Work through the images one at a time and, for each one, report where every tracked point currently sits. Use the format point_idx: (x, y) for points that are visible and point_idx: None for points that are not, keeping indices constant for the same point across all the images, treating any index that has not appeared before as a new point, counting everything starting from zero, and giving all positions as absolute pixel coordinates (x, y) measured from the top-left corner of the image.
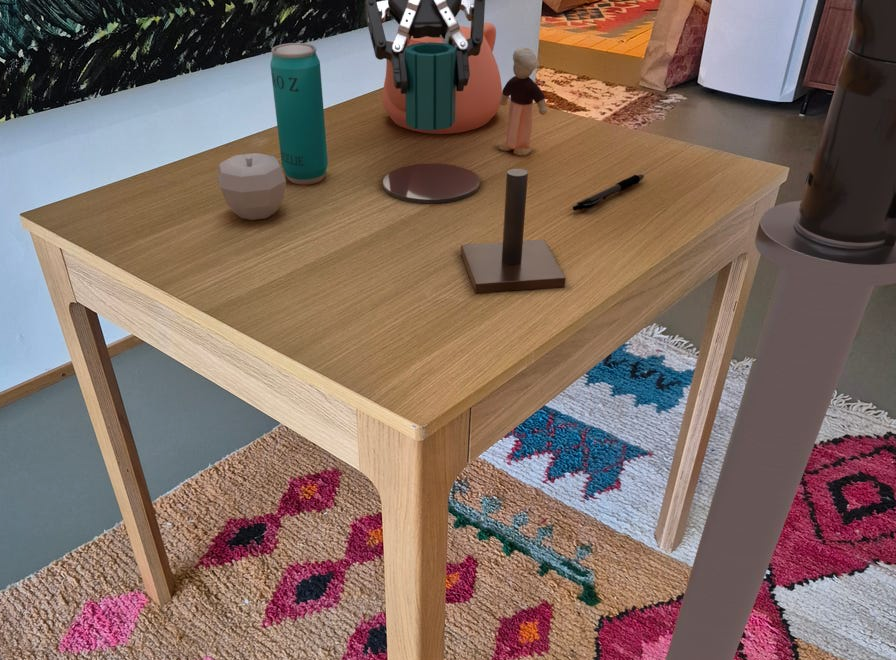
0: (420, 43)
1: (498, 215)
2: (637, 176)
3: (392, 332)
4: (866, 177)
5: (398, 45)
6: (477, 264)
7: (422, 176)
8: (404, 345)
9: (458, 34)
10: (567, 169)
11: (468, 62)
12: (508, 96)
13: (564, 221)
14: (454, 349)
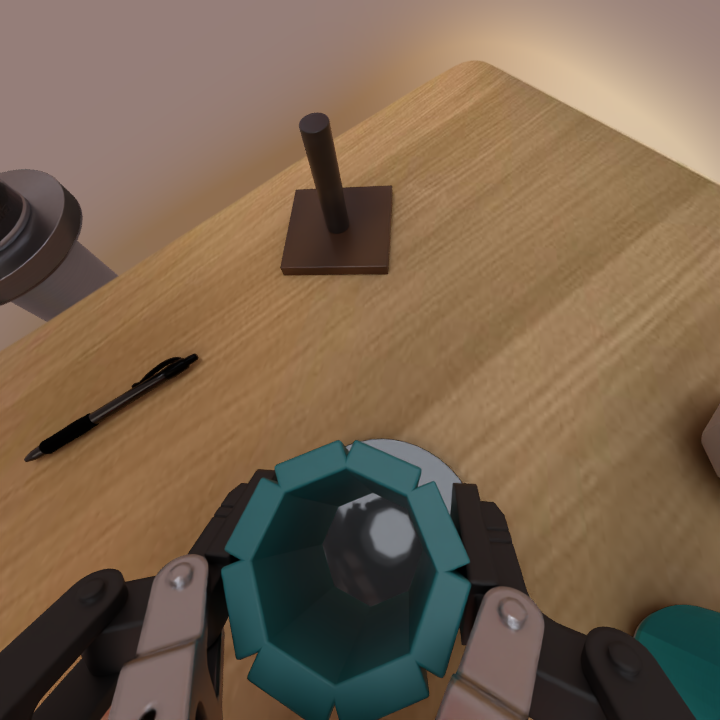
0: (370, 707)
1: (303, 376)
2: (42, 441)
3: (487, 142)
4: None
5: (507, 613)
6: (379, 220)
7: (395, 567)
8: (476, 126)
9: (164, 631)
10: (105, 556)
11: (206, 526)
12: None
13: (223, 342)
14: (432, 121)
